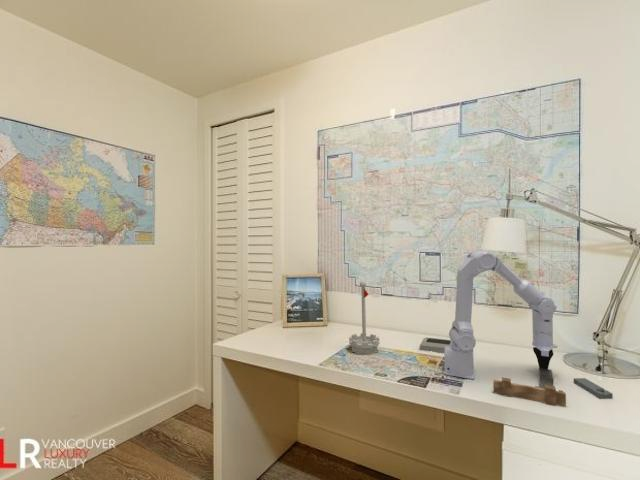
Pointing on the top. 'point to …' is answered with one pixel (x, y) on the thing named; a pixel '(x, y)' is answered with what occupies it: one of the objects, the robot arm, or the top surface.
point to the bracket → (593, 388)
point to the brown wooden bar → (530, 392)
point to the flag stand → (364, 332)
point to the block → (545, 377)
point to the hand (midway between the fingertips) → (543, 370)
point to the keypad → (435, 344)
